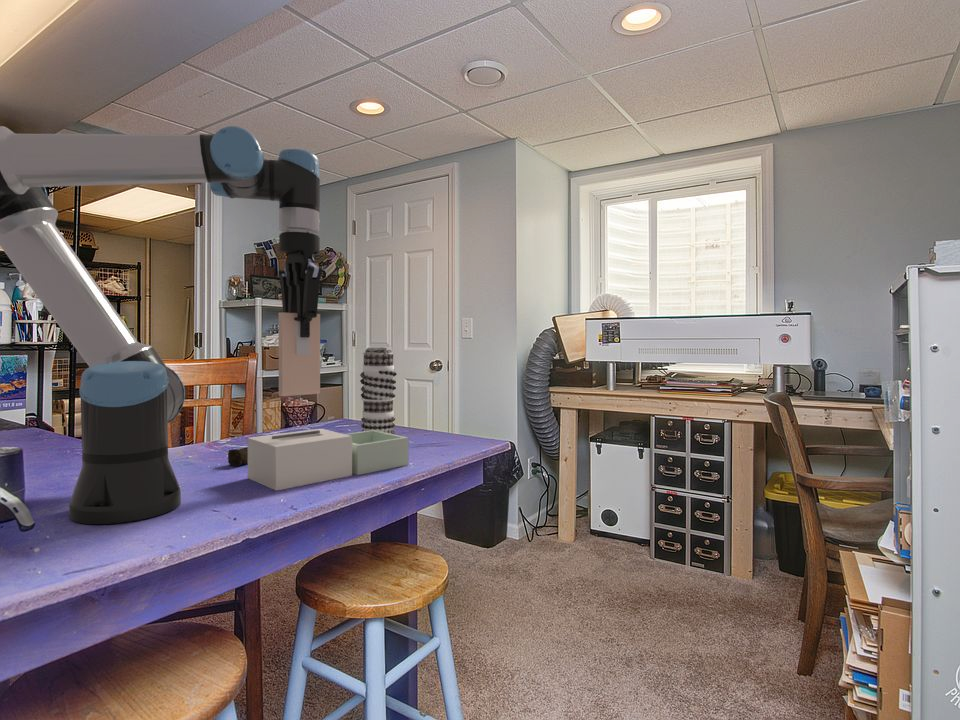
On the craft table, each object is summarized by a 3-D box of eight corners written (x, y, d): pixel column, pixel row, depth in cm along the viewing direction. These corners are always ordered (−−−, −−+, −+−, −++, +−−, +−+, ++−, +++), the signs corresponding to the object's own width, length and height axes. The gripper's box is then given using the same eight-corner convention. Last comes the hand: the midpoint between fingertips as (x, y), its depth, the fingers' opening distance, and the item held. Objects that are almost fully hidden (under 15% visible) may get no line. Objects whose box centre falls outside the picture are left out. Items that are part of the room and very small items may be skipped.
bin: (357, 475, 114) (357, 445, 113) (324, 464, 123) (324, 436, 122) (408, 464, 123) (408, 437, 123) (373, 455, 132) (373, 429, 132)
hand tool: (238, 469, 119) (238, 447, 118) (226, 466, 121) (226, 445, 120) (307, 453, 135) (307, 434, 135) (295, 451, 137) (295, 432, 137)
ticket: (282, 396, 107) (282, 312, 107) (278, 395, 109) (278, 312, 108) (320, 393, 113) (320, 314, 112) (316, 392, 114) (316, 314, 113)
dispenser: (276, 490, 102) (275, 444, 101) (247, 478, 110) (247, 435, 110) (352, 475, 113) (352, 433, 113) (321, 465, 122) (321, 426, 121)
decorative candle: (397, 441, 149) (398, 347, 148) (394, 448, 140) (395, 348, 139) (362, 441, 149) (363, 346, 147) (357, 448, 139) (357, 347, 138)
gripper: (336, 232, 107) (336, 355, 108) (299, 240, 117) (299, 352, 118) (300, 226, 102) (300, 356, 103) (264, 235, 112) (264, 353, 113)
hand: (299, 354), depth 110 cm, fingers closed on ticket, 1 cm apart
